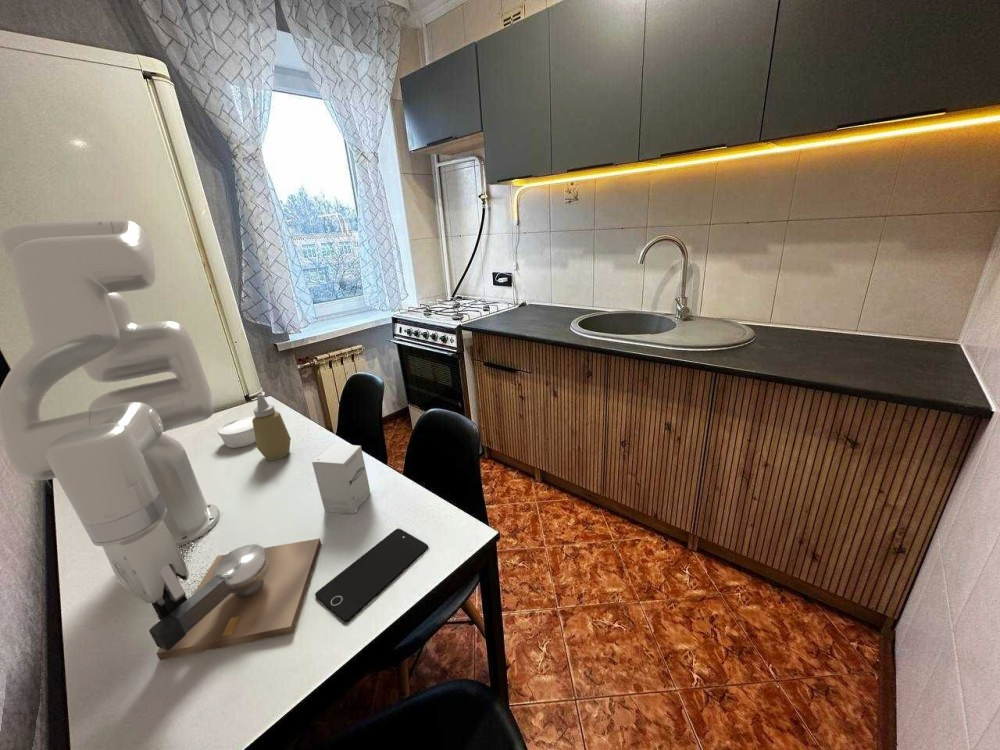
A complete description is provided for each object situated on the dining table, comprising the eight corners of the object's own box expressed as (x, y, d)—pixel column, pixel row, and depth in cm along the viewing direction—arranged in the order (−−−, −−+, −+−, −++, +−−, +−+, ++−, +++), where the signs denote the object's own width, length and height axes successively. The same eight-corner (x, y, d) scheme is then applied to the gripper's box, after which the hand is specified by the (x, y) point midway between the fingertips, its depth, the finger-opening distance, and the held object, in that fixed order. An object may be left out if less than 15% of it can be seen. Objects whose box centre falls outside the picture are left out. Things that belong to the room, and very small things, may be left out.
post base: (159, 660, 56) (149, 641, 55) (219, 562, 73) (212, 545, 71) (293, 633, 59) (286, 614, 57) (321, 544, 75) (316, 528, 74)
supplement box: (354, 515, 83) (342, 464, 78) (323, 511, 84) (310, 461, 80) (372, 492, 89) (361, 444, 85) (343, 490, 91) (331, 443, 86)
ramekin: (242, 430, 122) (237, 415, 121) (274, 431, 121) (270, 416, 119) (213, 450, 112) (207, 433, 110) (248, 451, 110) (242, 434, 109)
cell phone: (314, 598, 65) (313, 593, 64) (398, 530, 78) (398, 527, 78) (346, 626, 60) (345, 621, 59) (430, 549, 73) (429, 545, 73)
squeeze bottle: (300, 451, 108) (283, 392, 102) (271, 466, 102) (251, 404, 96) (283, 444, 113) (266, 387, 106) (255, 458, 106) (235, 398, 100)
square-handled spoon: (249, 554, 68) (243, 540, 67) (279, 563, 66) (274, 549, 65) (146, 641, 54) (137, 625, 53) (179, 656, 52) (170, 640, 51)
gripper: (64, 518, 51) (120, 617, 58) (117, 554, 45) (174, 661, 51) (134, 485, 57) (177, 578, 64) (190, 513, 51) (232, 612, 58)
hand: (176, 614), depth 58 cm, fingers closed
